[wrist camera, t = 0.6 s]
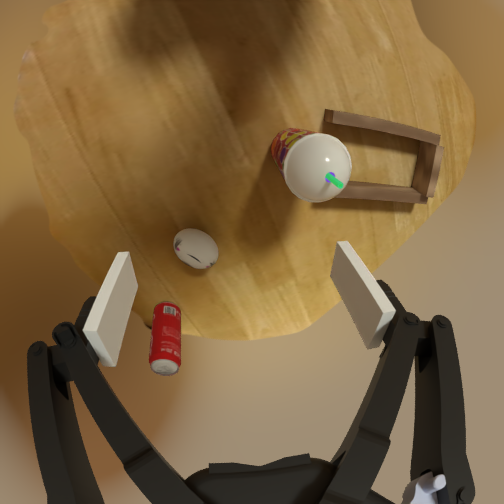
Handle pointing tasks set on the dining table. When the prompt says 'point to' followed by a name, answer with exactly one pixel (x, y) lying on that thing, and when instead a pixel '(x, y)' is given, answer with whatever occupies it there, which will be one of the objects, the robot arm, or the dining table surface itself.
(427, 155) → the u rest
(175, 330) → the beverage can
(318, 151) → the smoothie
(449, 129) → the dining table surface
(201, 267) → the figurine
